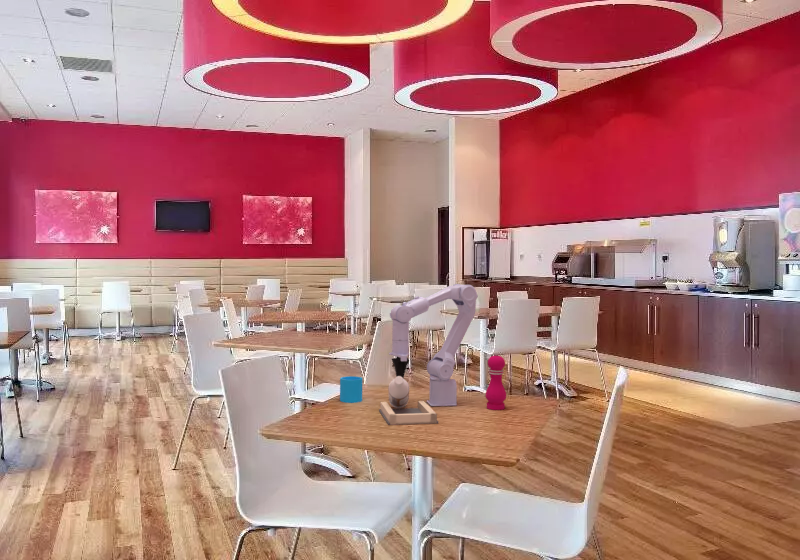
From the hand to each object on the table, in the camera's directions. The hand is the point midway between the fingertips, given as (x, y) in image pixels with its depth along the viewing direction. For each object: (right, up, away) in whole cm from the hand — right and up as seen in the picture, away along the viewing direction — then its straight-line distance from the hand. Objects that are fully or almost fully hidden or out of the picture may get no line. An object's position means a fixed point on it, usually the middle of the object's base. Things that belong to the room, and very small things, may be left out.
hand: (400, 379), depth 238 cm
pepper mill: (+33, -11, +1) cm, 35 cm away
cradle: (+2, -10, -14) cm, 18 cm away
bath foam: (0, -7, 0) cm, 7 cm away
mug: (-18, -10, +13) cm, 24 cm away
